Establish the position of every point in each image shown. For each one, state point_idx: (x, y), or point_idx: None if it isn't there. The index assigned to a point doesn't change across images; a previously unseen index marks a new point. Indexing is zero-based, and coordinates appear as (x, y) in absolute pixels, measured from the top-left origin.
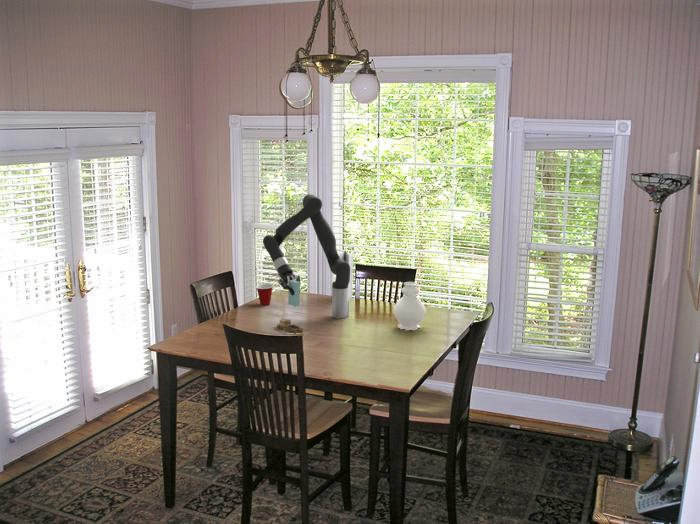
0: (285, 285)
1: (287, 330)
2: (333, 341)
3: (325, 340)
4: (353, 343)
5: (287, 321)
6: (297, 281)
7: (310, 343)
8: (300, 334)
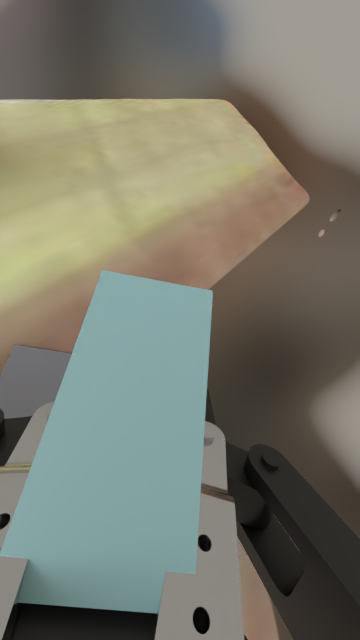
0: (303, 482)
1: None
2: (128, 265)
3: None
4: (106, 223)
5: None
6: (96, 333)
7: None
8: None
